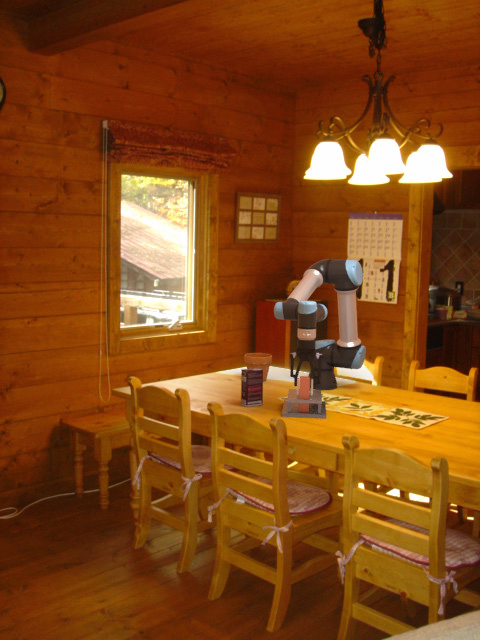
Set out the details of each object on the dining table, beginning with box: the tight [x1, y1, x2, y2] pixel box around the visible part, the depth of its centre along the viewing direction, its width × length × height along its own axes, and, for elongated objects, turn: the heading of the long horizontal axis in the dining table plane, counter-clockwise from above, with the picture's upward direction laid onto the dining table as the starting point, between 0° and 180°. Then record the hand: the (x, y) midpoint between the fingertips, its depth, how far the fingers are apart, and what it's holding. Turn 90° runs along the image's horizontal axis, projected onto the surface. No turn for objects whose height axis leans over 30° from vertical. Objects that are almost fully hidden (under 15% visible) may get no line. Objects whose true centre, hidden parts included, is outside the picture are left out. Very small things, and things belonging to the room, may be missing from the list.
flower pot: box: [243, 352, 273, 382], centre depth 372 cm, size 14×14×13 cm
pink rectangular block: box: [299, 375, 310, 412], centre depth 301 cm, size 4×4×14 cm
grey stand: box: [281, 383, 327, 419], centre depth 308 cm, size 18×24×13 cm
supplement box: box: [240, 368, 264, 408], centre depth 315 cm, size 9×5×16 cm, turn 121°
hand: (304, 394), depth 301 cm, fingers open, 5 cm apart
